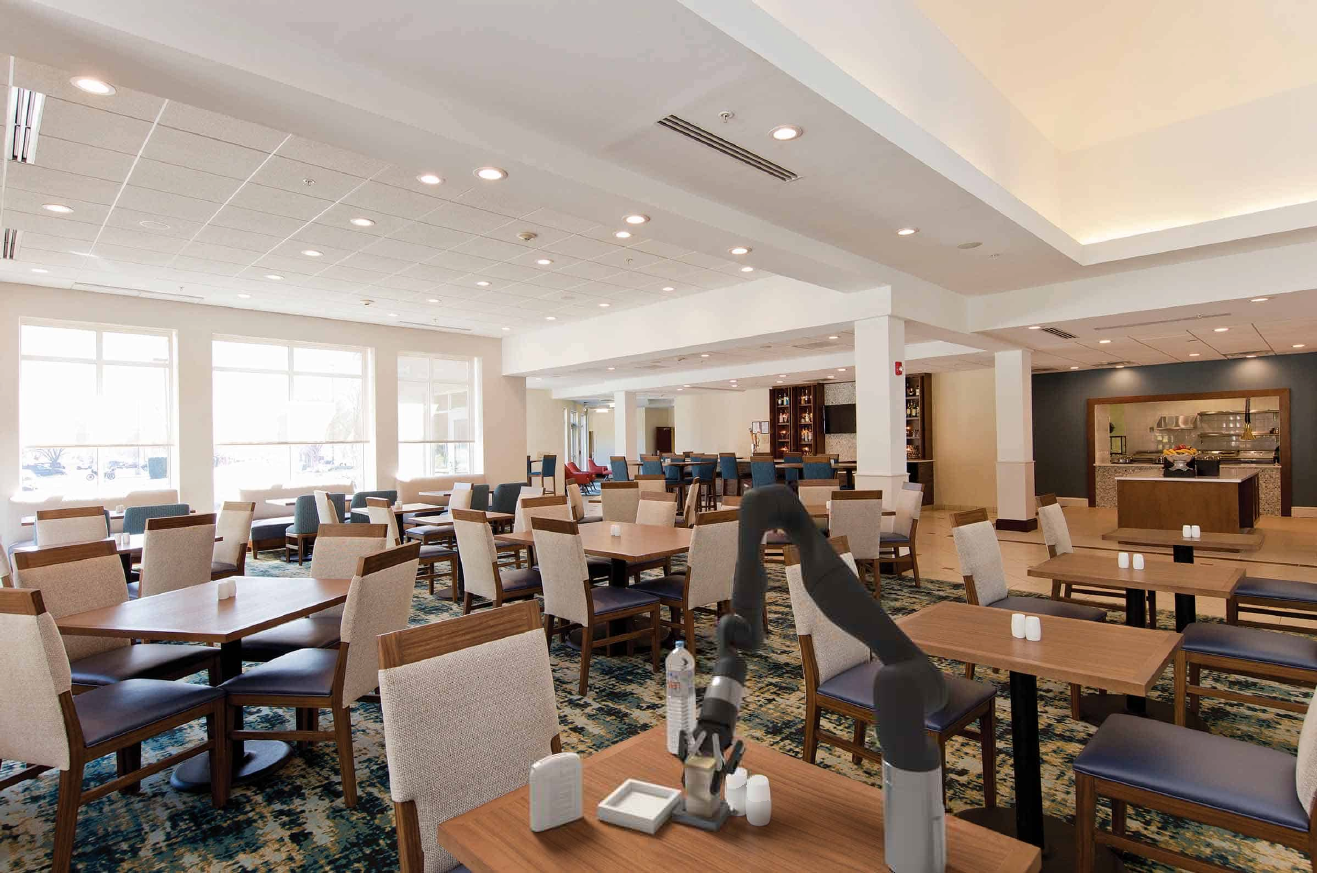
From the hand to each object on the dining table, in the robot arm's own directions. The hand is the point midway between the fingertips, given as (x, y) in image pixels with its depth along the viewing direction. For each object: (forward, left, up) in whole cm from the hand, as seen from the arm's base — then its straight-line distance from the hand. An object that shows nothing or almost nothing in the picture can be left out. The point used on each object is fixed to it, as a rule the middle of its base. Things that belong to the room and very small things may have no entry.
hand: (699, 790), depth 128 cm
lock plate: (0, -2, -5) cm, 6 cm away
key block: (0, -2, -5) cm, 6 cm away
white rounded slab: (+24, +12, -6) cm, 28 cm away
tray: (+12, +2, -5) cm, 13 cm away
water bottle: (+16, -26, -6) cm, 31 cm away
